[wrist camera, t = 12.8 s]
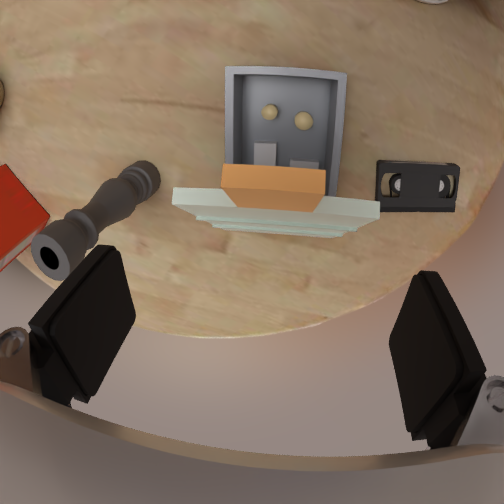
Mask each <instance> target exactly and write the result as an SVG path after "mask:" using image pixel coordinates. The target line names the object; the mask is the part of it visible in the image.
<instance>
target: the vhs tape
mask: <svg viewBox="0 0 504 504" xmlns="http://www.w3.org/2000/svg"><path fill="white" fill-rule="evenodd" d="M385 173H397V174H394V175H392V176H391V178H390V180H389V187H390V197H383V196H382V193H381V180H382V177H383V175H384V174H385ZM399 173H401V174H399ZM459 174H460V167H459V166H457V165H456V164H452V163H436V162H418V161H393V160H378V161H377V168H376V193H375V201H379V202H380V212H455V201H456V198H457V191H458V183H459ZM446 175H454V176H455V181H454V189H453V197H452V198H449V193H450V180H449V178H448V177H447V176H446ZM392 190H393V192H395V193H397V194H400V196H399V197H392ZM445 196H446V198H444V197H445Z"/></svg>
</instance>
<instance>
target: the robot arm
mask: <svg viewBox="0 0 504 504" xmlns="http://www.w3.org/2000/svg"><path fill="white" fill-rule="evenodd" d="M417 1H419V2H422V3H427V4H441V3H444V2H446V1H448V0H417ZM135 318H136V313H135V309H134V305H133V302H132V298H131V294H130V290H129V286H128V283H127V279H126V275H125V270H124V266H123V262H122V258H121V254H120V252H119V251H117V250H116V248H115V247H114V246H110V245H97V246H96V247H95V248H94V249H93V250H92V251H91V252H90V253H89V254H88V255H87V256H86V257H85V258H84V259H83V260H82V262H81V263H80V264H79V265H78V266H77V267H76V268H75V269H74V270H73V271H72V272H71V273H70V275H69V276H68V277H67V278H66V279H65V280H64V281H63V282H62V283H61V285H60V286H59V287H58V288H57V289H56V290H55V291H54V293H53V294H52V295H51V296H50V297H49V298H48V300H47V301H46V302H45V303H44V304H43V306H42V307H41V308H40V309H39V310H38V312H37V313H36V314H35V315H34V317H33V318H32V319H31V320H30V322H29V323H28V324H29V326H30V328H31V332H30V333H29V334H28V332H27V331H26V330H25V329H23V328H21V327H12V328H9V329H7V330H5V331H3V332H2V333H1V334H0V504H504V377H502V376H495V375H494V376H491V377H488V378H487V379H486V376H485V374H484V373H485V372H486V367H485V365H484V363H483V360H482V358H481V356H480V353H479V351H478V349H477V347H476V344H475V342H474V340H473V338H472V336H471V334H470V332H469V330H468V328H467V326H466V324H465V322H464V319H463V317H462V316H461V314H460V312H459V310H458V308H457V306H456V304H455V302H454V300H453V298H452V297H451V295H450V293H449V291H448V289H447V287H446V286H445V284H444V282H443V280H442V279H441V277H440V275H439V274H438V272H435V271H422V270H421V271H419V273H418V274H417V275H414V276H413V278H412V280H411V283H410V286H409V289H408V292H407V294H406V297H405V300H404V302H403V305H402V308H401V310H400V313H399V315H398V318H397V320H396V323H395V325H394V328H393V330H392V332H391V335H390V338H389V347H390V352H391V356H392V360H393V365H394V369H395V373H396V378H397V382H398V388H399V392H400V397H401V402H402V408H403V413H404V419H405V425H406V430H407V431H408V432H411V436H412V441H414V440H423V439H427V444H428V447H427V448H426V450H425V451H416V452H407V453H398V454H386V455H372V456H351V457H350V456H349V457H311V456H289V455H274V454H262V453H252V452H244V451H236V450H229V449H222V448H216V447H209V446H204V445H198V444H193V443H187V442H183V441H179V440H174V439H170V438H166V437H161V436H157V435H153V434H149V433H146V432H142V431H138V430H135V429H131V428H128V427H124V426H121V425H118V424H115V423H111V422H108V421H105V420H102V419H99V418H97V417H93V416H91V415H88V414H85V413H83V412H80V411H77V410H74V409H72V407H71V402H70V401H71V399H72V398H73V397H74V399H76V400H79V401H81V402H84V403H88V402H89V400H90V398H91V396H94V395H95V394H96V393H97V391H98V389H99V387H100V385H101V383H102V381H103V379H104V377H105V375H106V374H107V372H108V370H109V368H110V366H111V364H112V362H113V360H114V358H115V357H116V355H117V353H118V351H119V349H120V347H121V345H122V343H123V341H124V340H125V338H126V336H127V334H128V333H129V331H130V329H131V327H132V325H133V324H134V322H135Z"/></svg>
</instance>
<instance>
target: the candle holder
mask: <svg viewBox="0 0 504 504" xmlns="http://www.w3.org/2000/svg"><path fill="white" fill-rule="evenodd" d="M160 182H161V180H160V174H159V172H158V170H157V168H156V167H155V166H154V165H153V164H152V163H150V162H148V161H137V162H135V163H134V164H132V165H130V166H129V167H127V168H125V169H124V170H123V171H122V173H120V175H119V176H118V177H117V178H112V179H109V180H108V181H106V182H104V183H103V184H102V185H101V187H100V188H99V189H98V191H97V192H96V194H95V195H94V196H93V198H92V199H91V201H90V202H89V203H88V204H87V205H86V206H85V207H83V208H82V209H73V210H71V211H70V212H68V213H67V214H66V215H65V217H64V219H63V220H55V221H54V222H52V223H51V224H49V225H48V226H47V227H46V228H44V229H43V230H42V231H41V232H39V233H38V234H37V235H36V236H35V237H33V239H32V242H31V253H32V256H33V258H34V261H35V263H36V264H37V266H38V267H39V269H40V270H41V271H42V272H43V273H44V274H45V275H46V276H48V277H50V278H52V279H53V280H58V281H62V280H64V279H66V278H67V277H68V276H69V275H70V273H71V272H72V271H73V270H74V269H75V268H76V267H77V266H78V265H79V264H80V263H81V262H82V260H83V259H84V257H85V253H86V251H87V250H89V249H91V248H93V247H94V246H95V244H96V243H97V241H98V236H99V233H100V232H101V231H102V230H103V229H104V228H105V227H107V226H109V225H112V224H114V223H116V222H118V221H121V220H123V219H125V218H127V217H129V216H130V215H131V214H132V212H133V211H134V210H135V208H136V205H137V204H139V203H141V202H143V201H145V200H147V199H148V198H149V197H151V196H152V195H153V194H154V193H155V192H156V191H157V189H158V188H159V185H160Z"/></svg>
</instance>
